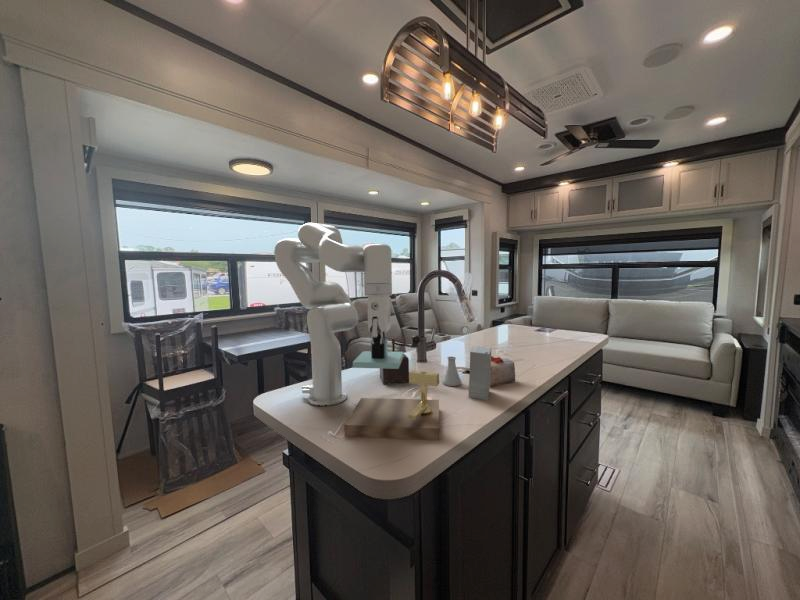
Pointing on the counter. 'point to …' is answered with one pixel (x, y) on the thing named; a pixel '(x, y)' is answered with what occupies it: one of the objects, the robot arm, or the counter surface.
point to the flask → (451, 373)
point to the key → (422, 391)
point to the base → (392, 419)
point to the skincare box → (479, 372)
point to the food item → (501, 371)
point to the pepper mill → (403, 372)
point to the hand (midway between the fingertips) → (379, 355)
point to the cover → (388, 362)
